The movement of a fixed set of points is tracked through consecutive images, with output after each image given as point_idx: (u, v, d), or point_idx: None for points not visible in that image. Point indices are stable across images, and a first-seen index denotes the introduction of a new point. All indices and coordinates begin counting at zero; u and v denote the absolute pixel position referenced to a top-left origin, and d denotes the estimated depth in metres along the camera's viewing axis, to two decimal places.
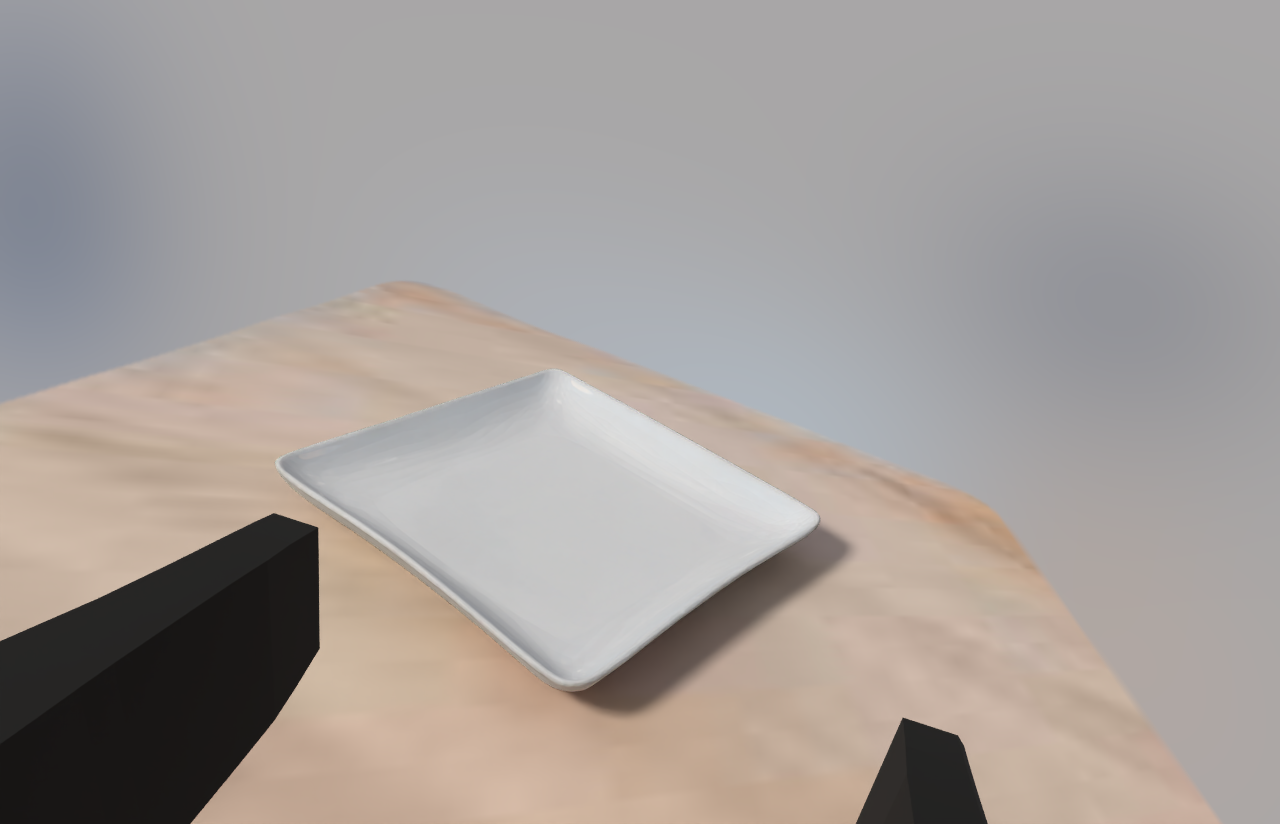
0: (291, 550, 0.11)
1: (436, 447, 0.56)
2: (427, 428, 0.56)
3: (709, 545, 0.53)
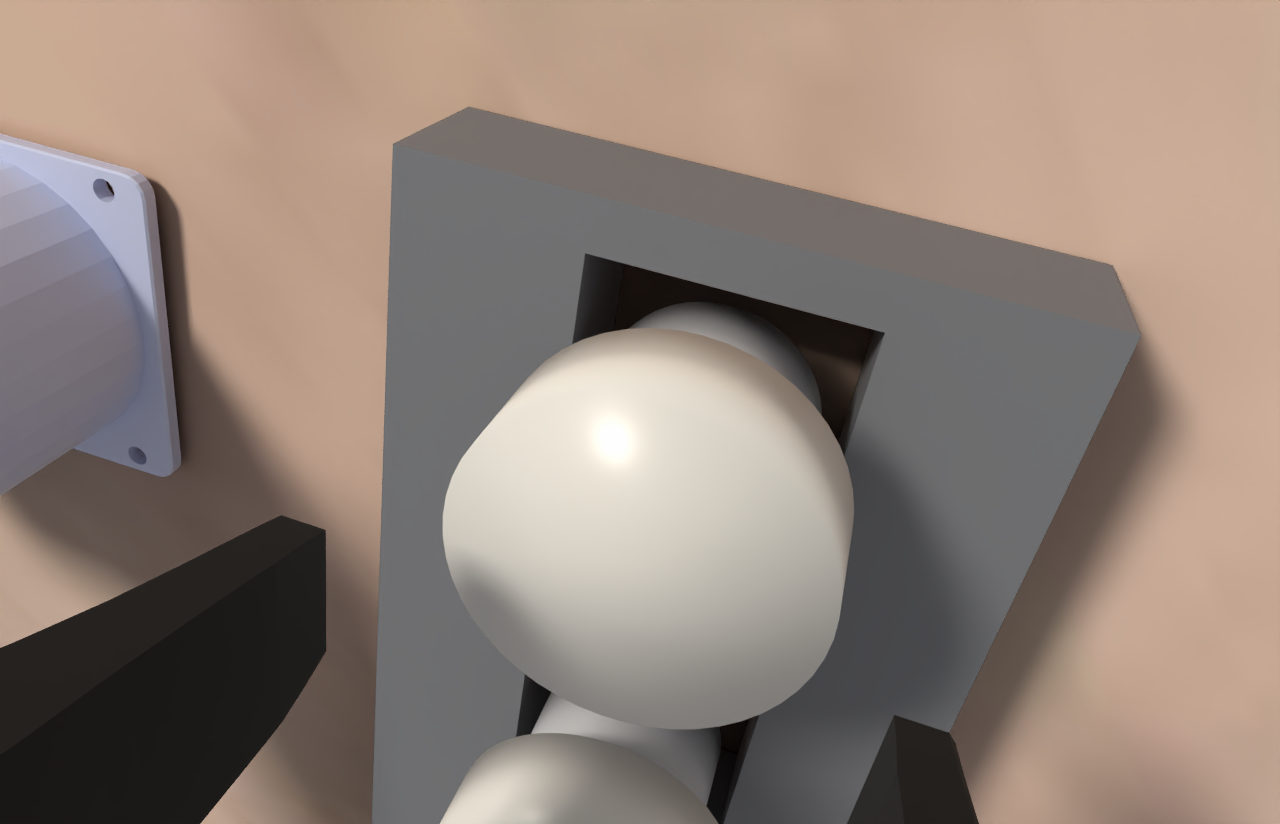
0: (299, 552, 0.11)
1: None
2: None
3: None
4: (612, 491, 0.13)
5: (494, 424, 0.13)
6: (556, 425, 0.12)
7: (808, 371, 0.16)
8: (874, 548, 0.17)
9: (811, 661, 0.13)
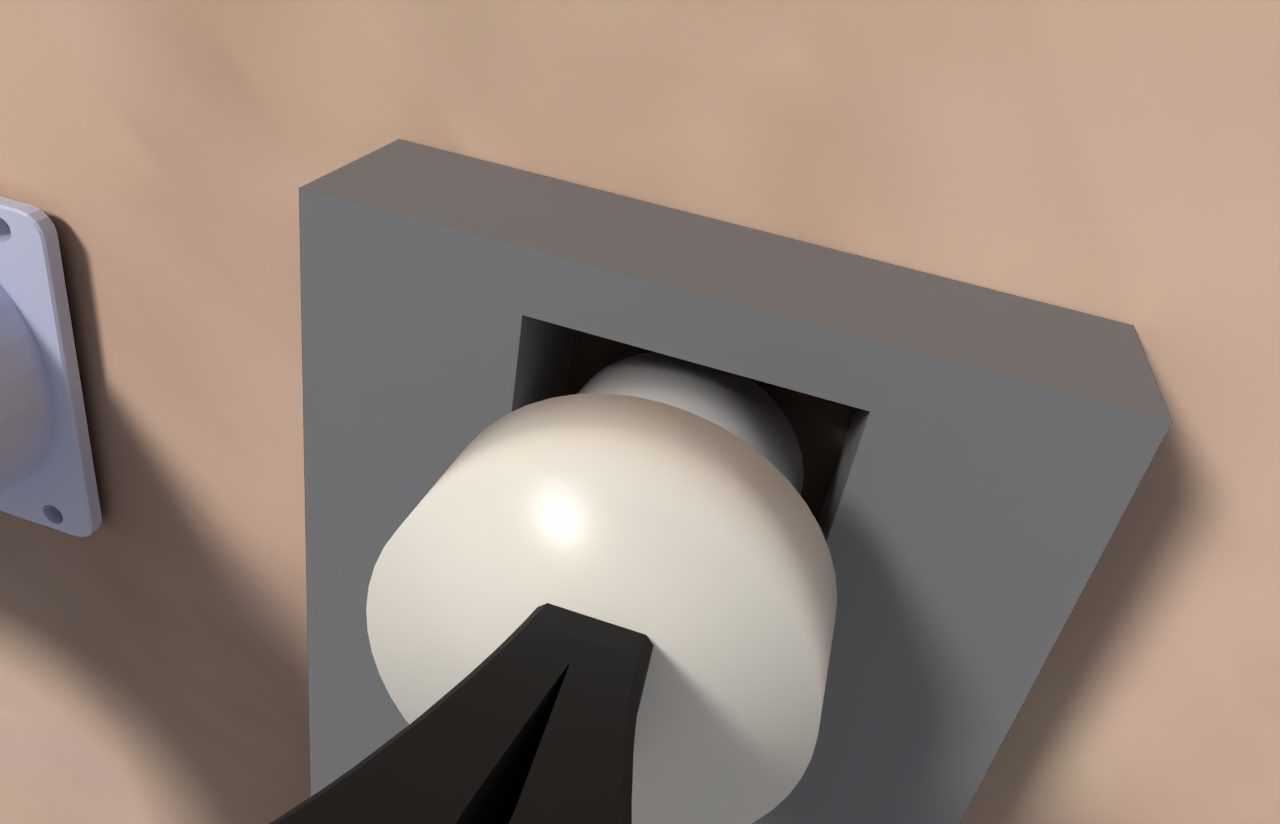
0: (581, 646, 0.11)
1: None
2: None
3: None
4: (556, 588, 0.11)
5: (419, 511, 0.11)
6: (489, 513, 0.11)
7: (788, 429, 0.15)
8: (859, 648, 0.15)
9: (787, 779, 0.11)
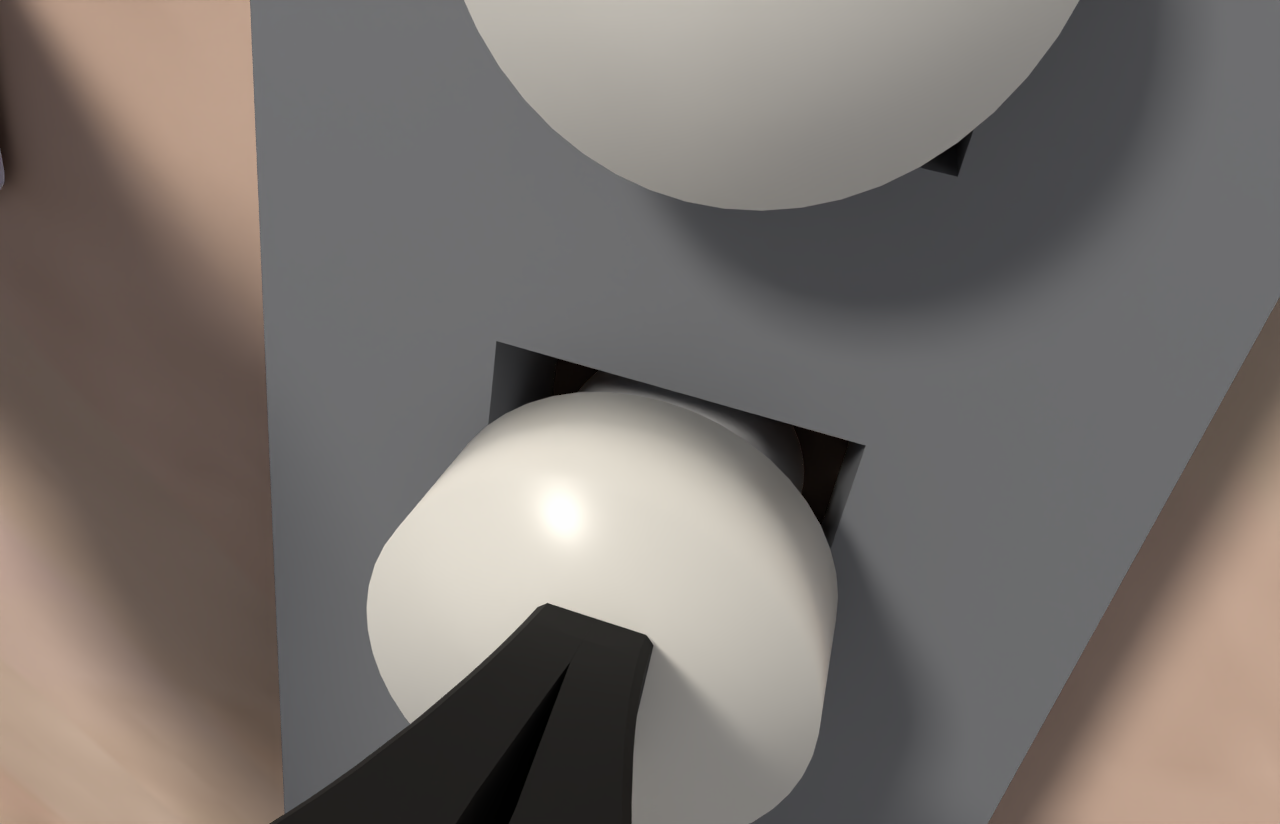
0: (581, 645, 0.11)
1: None
2: None
3: None
4: None
5: None
6: None
7: None
8: (1087, 105, 0.10)
9: (1060, 1, 0.08)
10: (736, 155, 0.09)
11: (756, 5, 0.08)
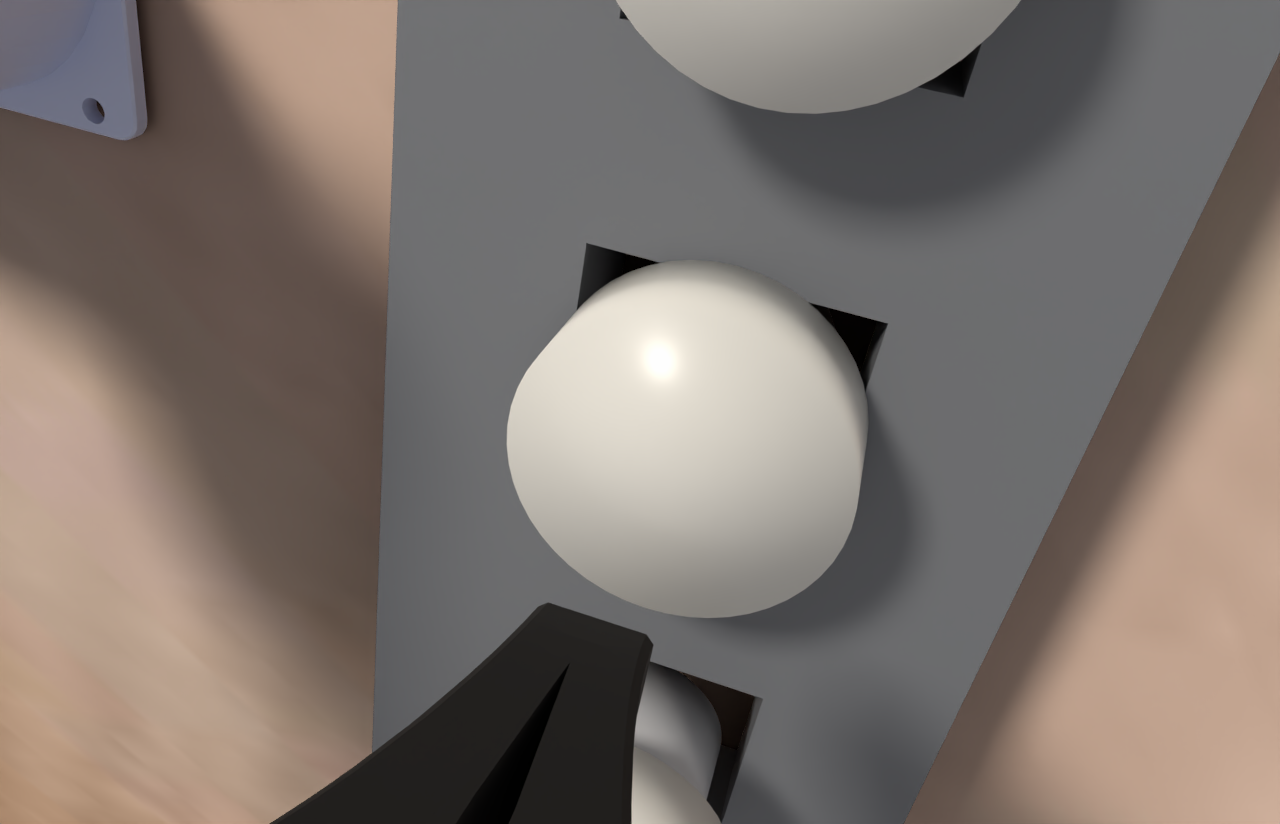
0: (581, 646, 0.11)
1: None
2: None
3: None
4: None
5: None
6: None
7: None
8: (1064, 39, 0.13)
9: None
10: (798, 70, 0.12)
11: None
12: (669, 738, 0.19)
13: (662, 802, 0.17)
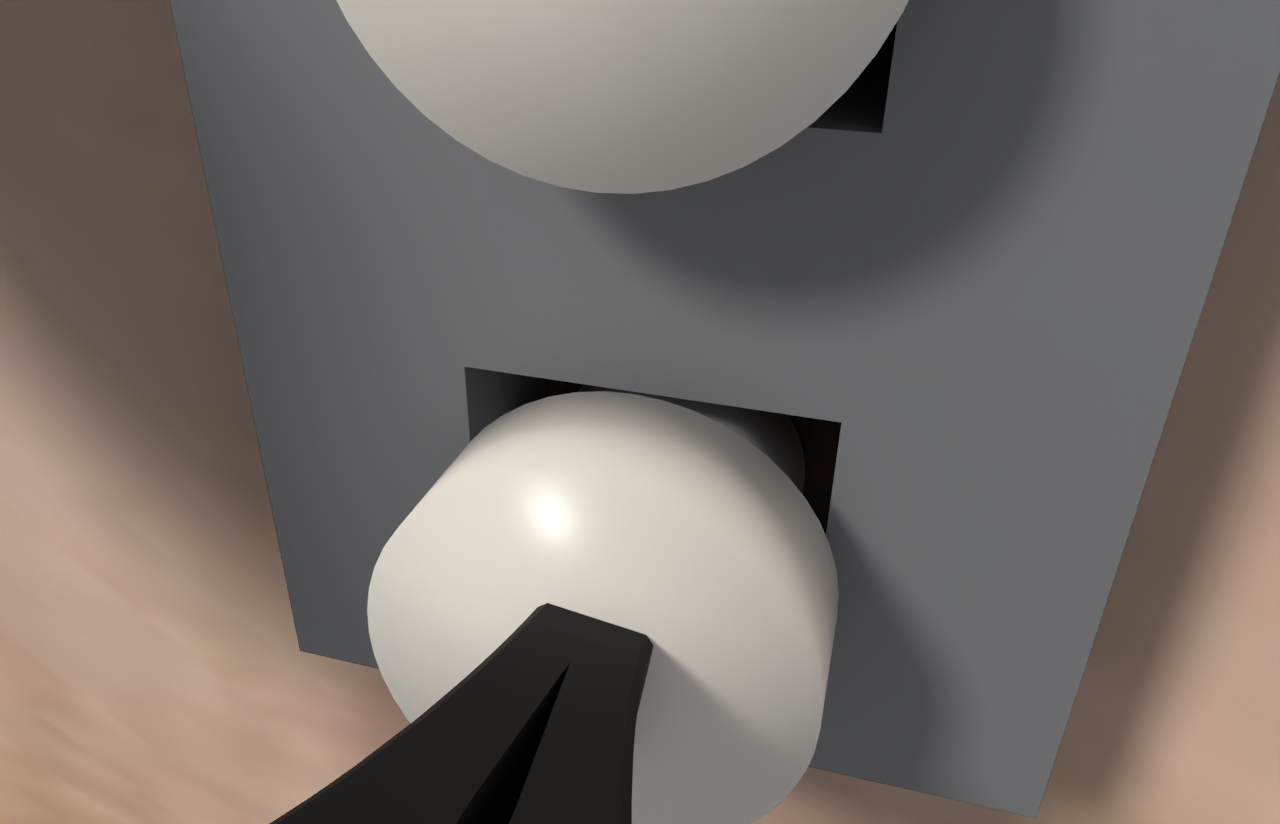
0: (581, 645, 0.11)
1: None
2: None
3: None
4: None
5: None
6: None
7: None
8: None
9: None
10: None
11: None
12: None
13: (714, 460, 0.11)
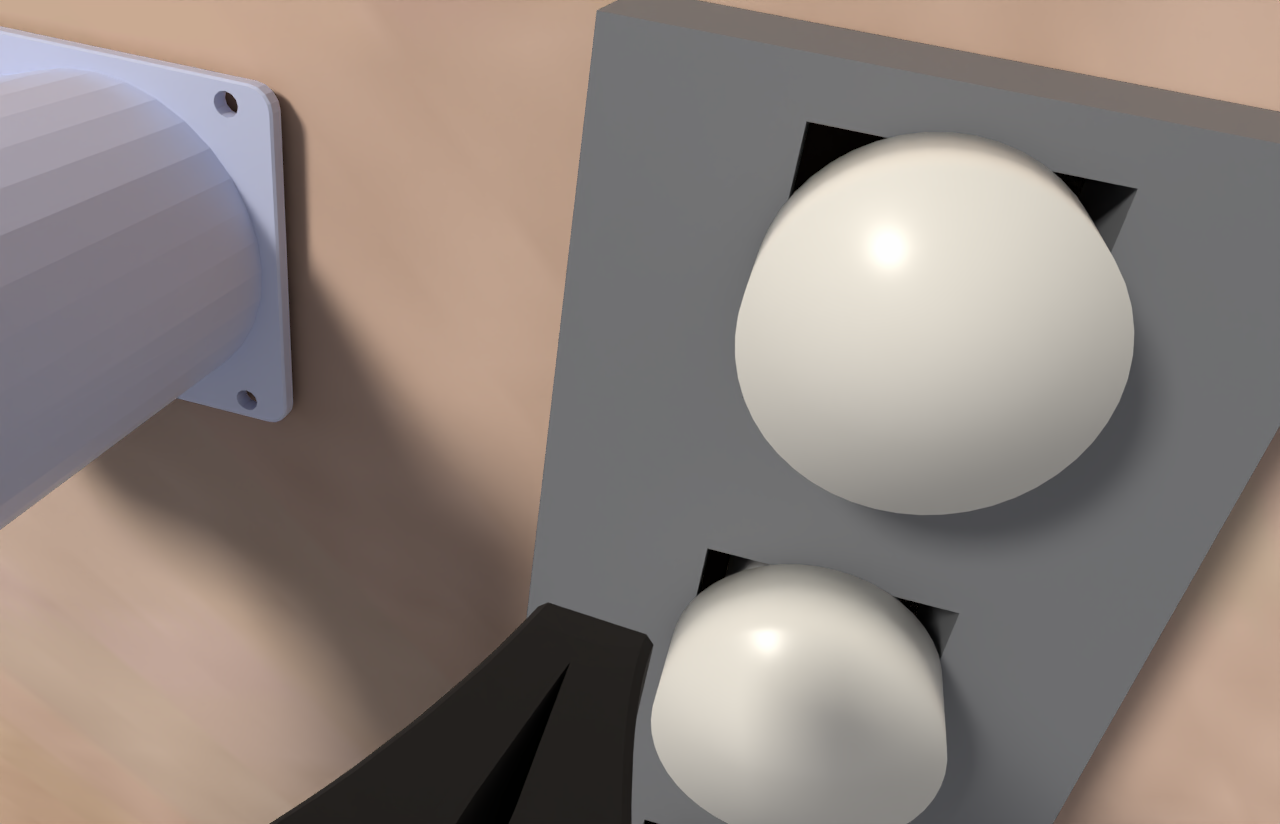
0: (581, 645, 0.11)
1: None
2: None
3: None
4: (916, 270, 0.14)
5: (806, 211, 0.14)
6: (869, 206, 0.13)
7: None
8: (1101, 431, 0.16)
9: (1094, 426, 0.14)
10: (906, 487, 0.15)
11: (923, 417, 0.15)
12: None
13: None
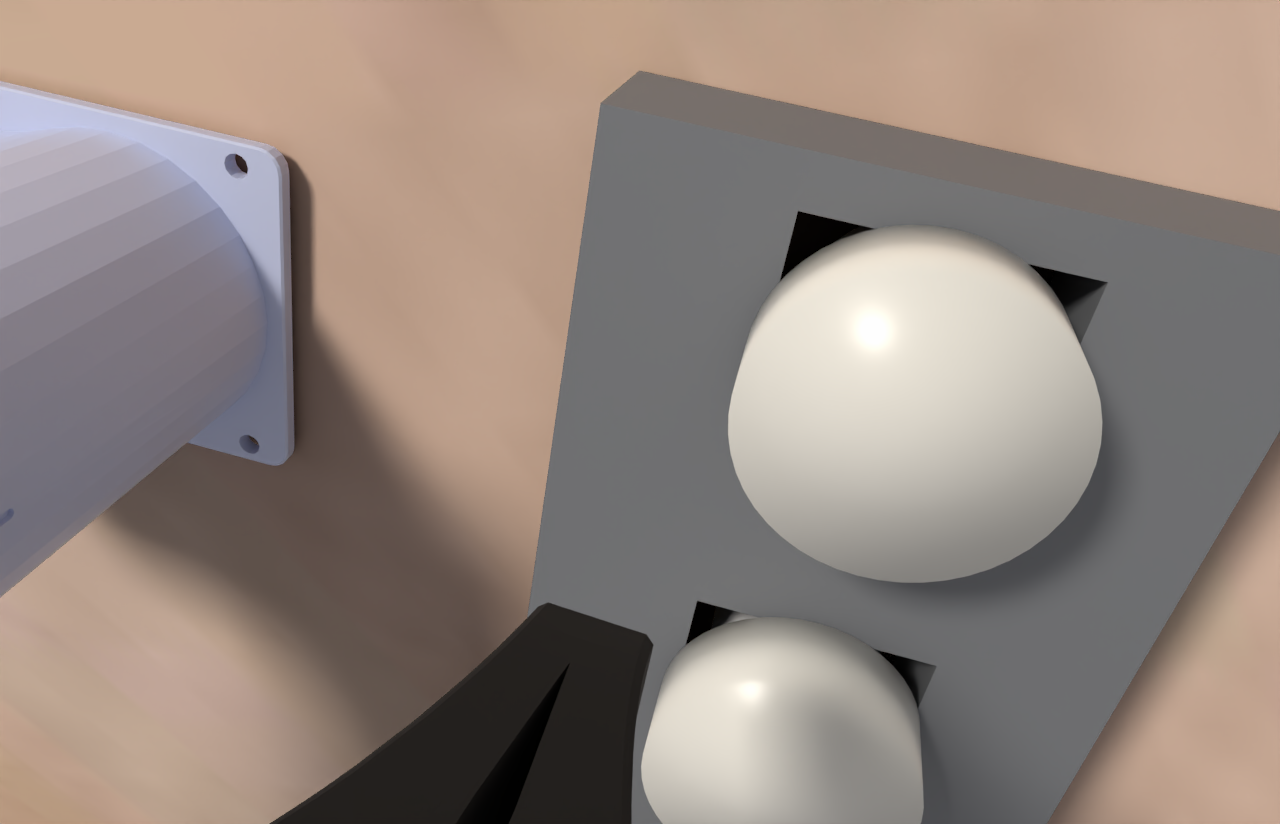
0: (581, 645, 0.11)
1: None
2: None
3: None
4: (900, 360, 0.15)
5: (797, 304, 0.15)
6: (857, 302, 0.14)
7: None
8: None
9: (1064, 506, 0.15)
10: (888, 557, 0.16)
11: (905, 494, 0.16)
12: None
13: None
